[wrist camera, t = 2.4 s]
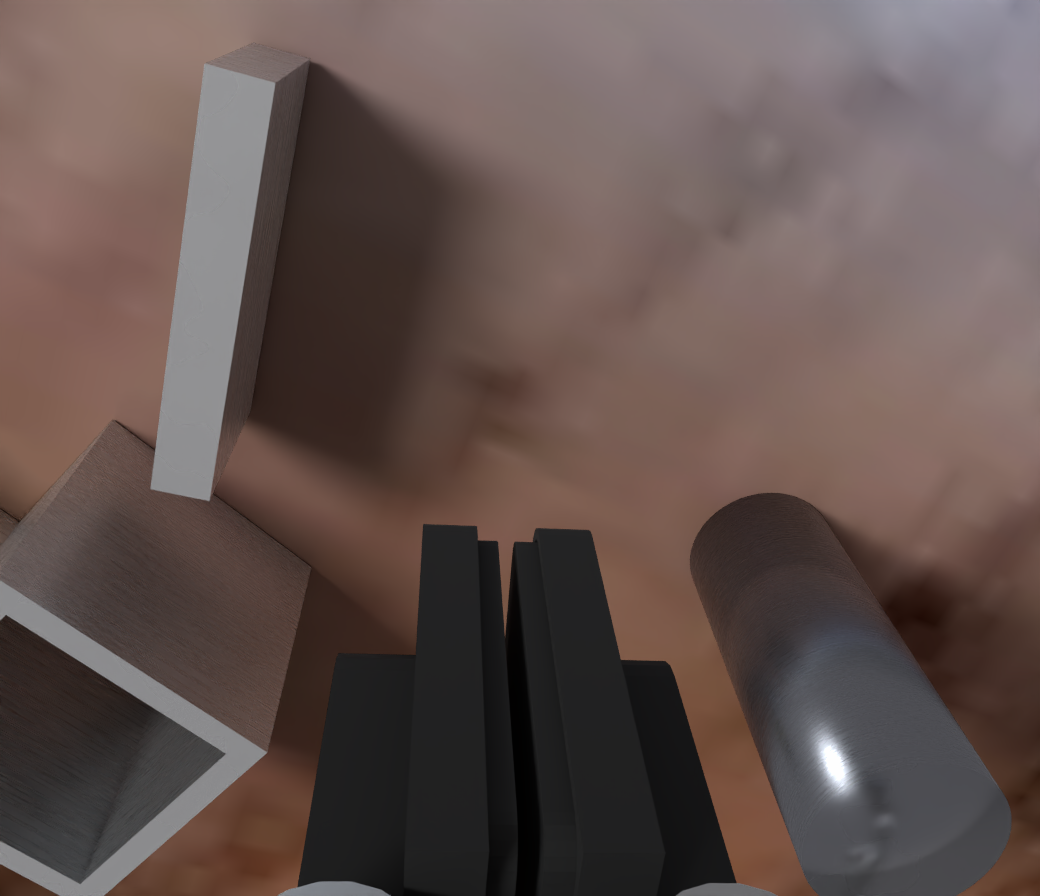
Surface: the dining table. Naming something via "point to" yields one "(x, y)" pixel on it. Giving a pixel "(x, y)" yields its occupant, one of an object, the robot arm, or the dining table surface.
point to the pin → (842, 711)
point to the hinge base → (131, 664)
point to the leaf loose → (226, 261)
